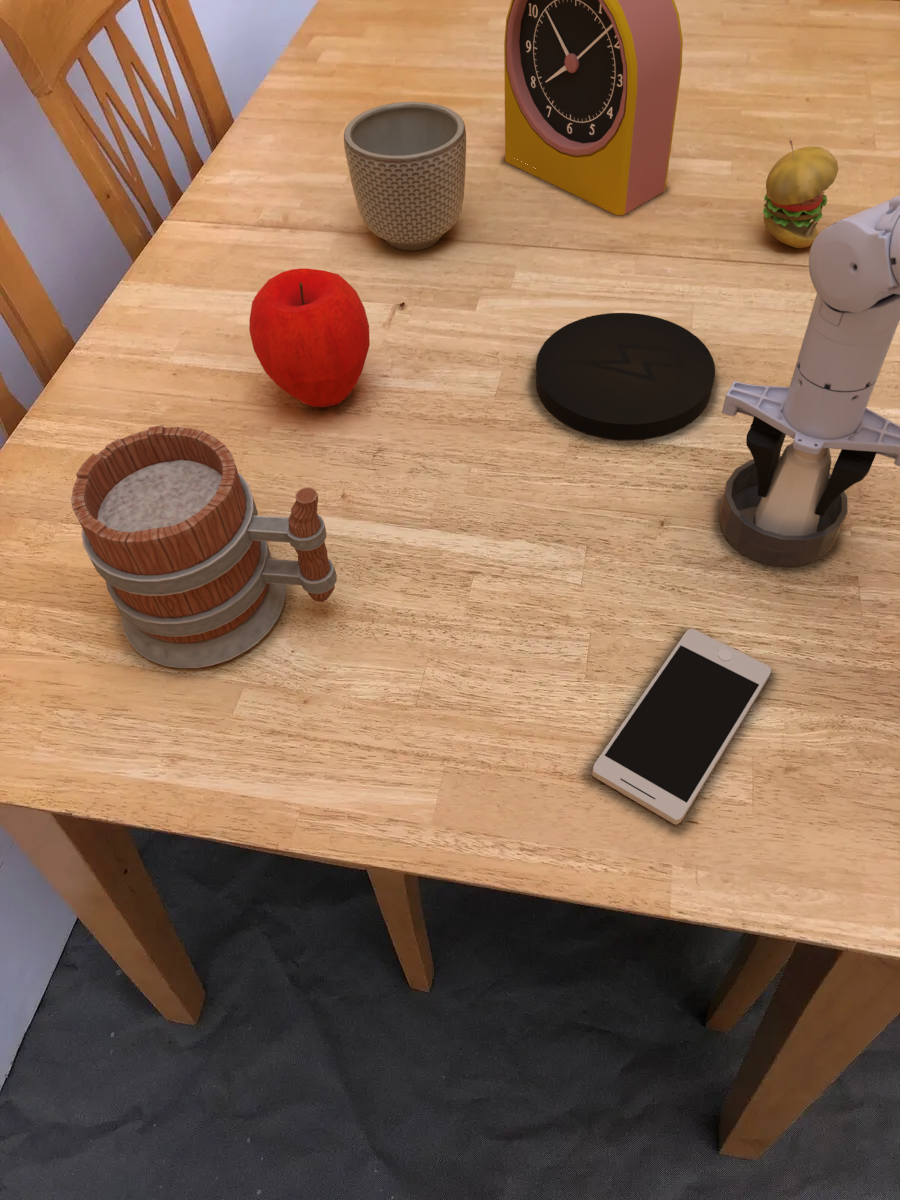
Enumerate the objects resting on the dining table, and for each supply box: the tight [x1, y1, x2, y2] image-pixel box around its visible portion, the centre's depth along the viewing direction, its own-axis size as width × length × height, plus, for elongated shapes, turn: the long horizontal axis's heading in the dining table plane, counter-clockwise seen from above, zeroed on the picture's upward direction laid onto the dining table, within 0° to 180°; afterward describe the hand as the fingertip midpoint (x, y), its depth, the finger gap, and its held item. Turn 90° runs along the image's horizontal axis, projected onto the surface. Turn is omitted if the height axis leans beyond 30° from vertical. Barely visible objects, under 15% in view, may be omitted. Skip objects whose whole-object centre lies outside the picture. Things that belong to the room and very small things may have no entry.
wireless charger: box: [535, 312, 716, 441], centre depth 94 cm, size 18×18×2 cm
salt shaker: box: [755, 442, 832, 536], centre depth 76 cm, size 5×5×11 cm
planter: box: [343, 101, 467, 252], centre depth 109 cm, size 14×14×13 cm
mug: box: [70, 424, 338, 669], centre depth 73 cm, size 14×19×15 cm
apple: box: [248, 267, 371, 408], centre depth 91 cm, size 12×12×13 cm
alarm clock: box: [503, 0, 684, 216], centre depth 111 cm, size 21×9×26 cm, turn 42°
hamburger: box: [762, 139, 839, 249], centre depth 104 cm, size 8×7×12 cm
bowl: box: [718, 455, 849, 568], centre depth 80 cm, size 10×10×4 cm
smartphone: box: [591, 628, 772, 825], centre depth 69 cm, size 7×16×1 cm, turn 144°
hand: (793, 498), depth 78 cm, fingers open, 4 cm apart
